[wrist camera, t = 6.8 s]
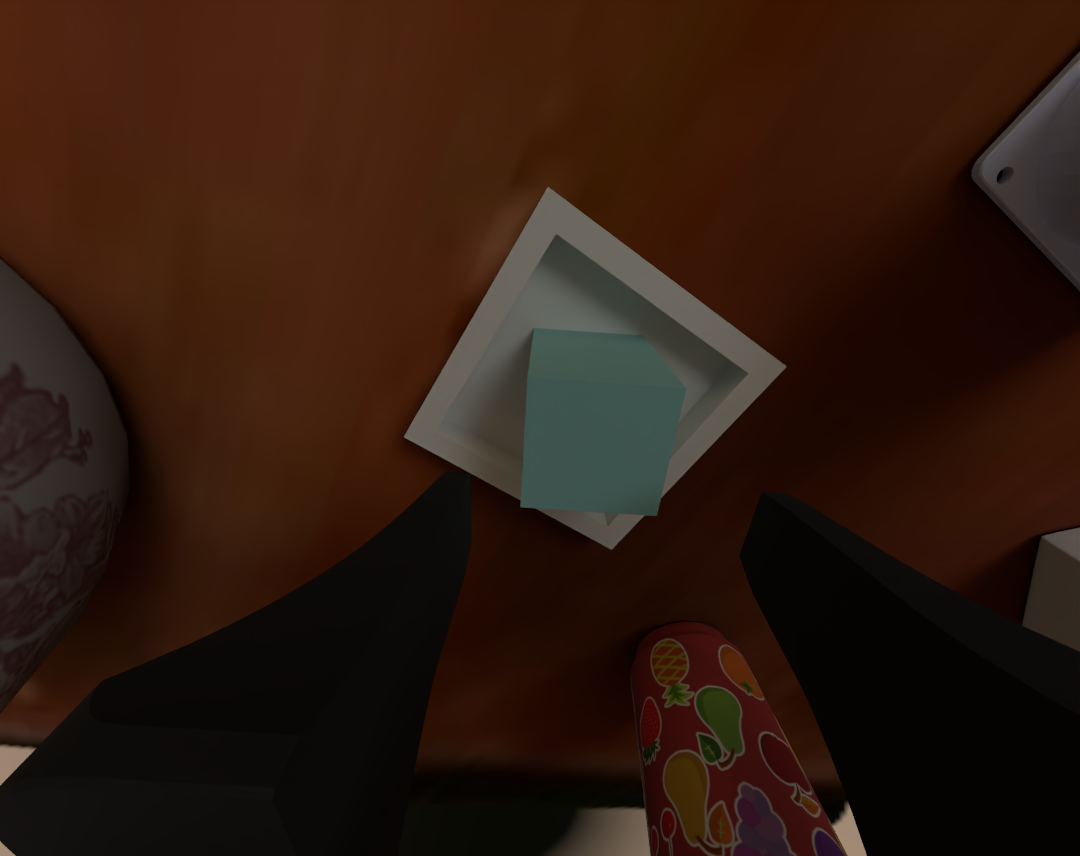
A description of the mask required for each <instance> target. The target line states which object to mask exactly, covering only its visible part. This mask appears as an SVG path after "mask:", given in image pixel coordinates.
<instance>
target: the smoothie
mask: <svg viewBox="0 0 1080 856" xmlns="http://www.w3.org/2000/svg"><path fill="white" fill-rule="evenodd" d="M635 659H636V660H635V661H634V662H633V664H632V668H631V672H630V680H631V688H632V697H633V706H634V715H635V723H636V732H637V741H638V750H639V758H640V767H641V776H642V785H643V793H644V802H645V811H646V819H647V828H648V836H649V846H650V854H651V856H847V854H846V852H845V850H844V848H843V846H842V844H841V842H840V841H839V839H838V836H837V835H836V833H835V831H834V829H833V827H832V825H831V823H830V821H829V819H828V817H827V815H826V813H825V812H824V810H823V808H822V806H821V804H820V802H819V800H818V798H817V796H816V794H815V792H814V790H813V788H812V787H811V785H810V783H809V781H808V779H807V777H806V775H805V773H804V771H803V769H802V767H801V765H800V763H799V762H798V760H797V758H796V756H795V754H794V752H793V750H792V748H791V746H790V744H789V742H788V740H787V739H786V737H785V735H784V733H783V731H782V729H781V727H780V725H779V723H778V721H777V719H776V717H775V715H774V714H773V712H772V710H771V708H770V706H769V704H768V702H767V700H766V698H765V696H764V694H763V692H762V690H761V689H760V687H759V685H758V683H757V681H756V679H755V677H754V675H753V673H752V671H751V669H750V667H749V665H748V664H747V662H746V660H745V657H744V656H743V654H742V653H741V652H740V650H739V649H738V647H737V646H735V645H734V644H732V643H730V642H729V641H727V640H726V639H725V638H724V636H723V635H722V633H721V632H719V631H718V630H716V629H715V628H713V627H712V626H709V625H706V624H702V623H699V622H678V623H672V624H667V625H665V626H662V627H660V628H657V629H655V630H653V631H652V632H651V633H649V634H648V635H647V636H645V637H644V638H643V640H642V641H641V642H640V644H639V645H638V647H637V651H636V656H635Z"/></svg>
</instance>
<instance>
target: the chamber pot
mask: <svg viewBox="0 0 1080 856" xmlns="http://www.w3.org/2000/svg"><path fill="white" fill-rule="evenodd" d="M128 493H129V467H128V439H127V432H126V427H125V424H124V422H123V419H122V417H121V414H120V412H119V409H118V407H117V404H116V402H115V399H114V397H113V394H112V392H111V389H110V387H109V384H108V382H107V379H106V377H105V374H104V372H103V370H102V369H101V368H100V366H99V365H98V363H97V362H96V361H95V359H94V358H93V357H92V355H91V354H90V352H89V351H88V350H87V348H86V347H85V345H84V344H83V343H82V341H81V340H80V339H79V337H78V336H77V334H76V333H75V332H74V330H73V329H72V328H71V326H70V325H69V323H68V322H67V321H66V319H65V318H64V317H63V315H62V314H61V312H60V311H59V310H58V309H57V308H56V307H55V306H54V305H53V304H52V303H51V302H50V301H48V300H47V299H46V298H45V297H44V296H43V295H42V294H41V293H40V292H39V291H38V290H37V289H35V288H34V287H33V286H32V285H31V284H30V283H29V282H28V281H27V280H26V279H25V278H24V277H22V276H21V275H20V274H19V273H18V272H17V271H16V270H15V269H14V268H13V267H12V266H11V265H9V264H8V263H7V262H6V261H5V260H4V259H3V258H2V257H1V256H0V713H1V712H2V711H3V710H4V708H5V707H6V706H7V705H8V704H9V702H10V701H11V700H12V699H13V698H14V696H15V695H16V694H17V693H18V692H19V690H20V689H21V688H22V687H23V685H24V684H25V683H26V682H27V681H28V679H29V678H30V677H31V676H32V675H33V673H34V672H35V671H36V670H37V668H38V667H39V666H40V665H41V664H42V662H43V661H44V660H45V659H46V658H47V656H48V655H49V654H50V653H51V652H52V650H53V649H54V648H55V647H56V645H57V644H58V643H59V642H60V641H61V639H62V638H63V637H64V636H65V635H66V633H67V632H68V631H69V630H70V629H71V627H72V626H73V625H74V624H75V622H76V621H77V620H78V619H79V618H80V616H81V615H82V613H83V611H84V609H85V607H86V605H87V603H88V601H89V600H90V598H91V596H92V594H93V592H94V590H95V588H96V586H97V584H98V582H99V580H100V578H101V576H102V574H103V572H104V570H105V568H106V565H107V562H108V559H109V556H110V552H111V549H112V546H113V543H114V539H115V536H116V533H117V529H118V526H119V523H120V520H121V516H122V513H123V510H124V506H125V503H126V500H127V497H128Z"/></svg>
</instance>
